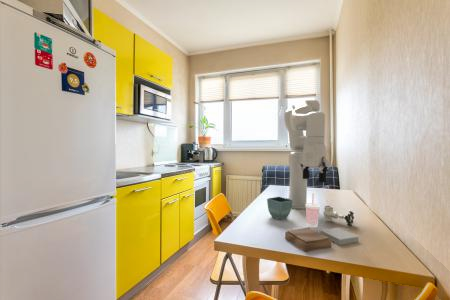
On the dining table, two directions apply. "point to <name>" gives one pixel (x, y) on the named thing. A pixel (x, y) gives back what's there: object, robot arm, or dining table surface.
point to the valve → (337, 215)
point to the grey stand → (340, 236)
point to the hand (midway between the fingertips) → (313, 180)
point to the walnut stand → (308, 239)
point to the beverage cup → (312, 213)
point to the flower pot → (279, 207)
